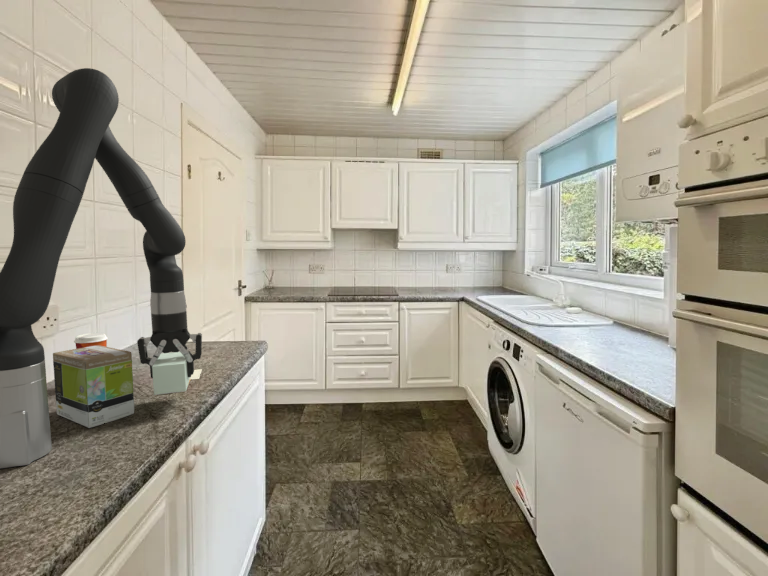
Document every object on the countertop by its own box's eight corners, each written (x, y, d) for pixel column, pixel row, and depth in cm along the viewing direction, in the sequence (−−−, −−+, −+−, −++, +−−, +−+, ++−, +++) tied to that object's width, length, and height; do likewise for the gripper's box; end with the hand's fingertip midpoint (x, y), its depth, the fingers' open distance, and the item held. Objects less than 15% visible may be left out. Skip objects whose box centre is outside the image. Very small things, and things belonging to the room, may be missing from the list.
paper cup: (93, 390, 112) (90, 338, 111) (69, 388, 113) (66, 337, 112) (117, 381, 120) (114, 332, 118) (95, 379, 121) (91, 331, 120)
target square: (199, 379, 121) (199, 378, 121) (168, 382, 119) (168, 381, 119) (201, 369, 131) (201, 369, 131) (173, 372, 128) (173, 371, 128)
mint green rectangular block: (185, 391, 97) (184, 363, 97) (154, 394, 95) (152, 366, 95) (190, 376, 108) (189, 351, 108) (162, 379, 106) (160, 353, 105)
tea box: (136, 413, 97) (133, 350, 95) (88, 430, 88) (83, 361, 87) (102, 401, 104) (98, 342, 103) (55, 415, 96) (50, 351, 94)
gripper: (130, 314, 94) (136, 386, 96) (200, 310, 99) (204, 379, 100) (137, 309, 101) (142, 376, 103) (202, 306, 106) (206, 370, 107)
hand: (173, 377), depth 102 cm, fingers closed on mint green rectangular block, 6 cm apart
